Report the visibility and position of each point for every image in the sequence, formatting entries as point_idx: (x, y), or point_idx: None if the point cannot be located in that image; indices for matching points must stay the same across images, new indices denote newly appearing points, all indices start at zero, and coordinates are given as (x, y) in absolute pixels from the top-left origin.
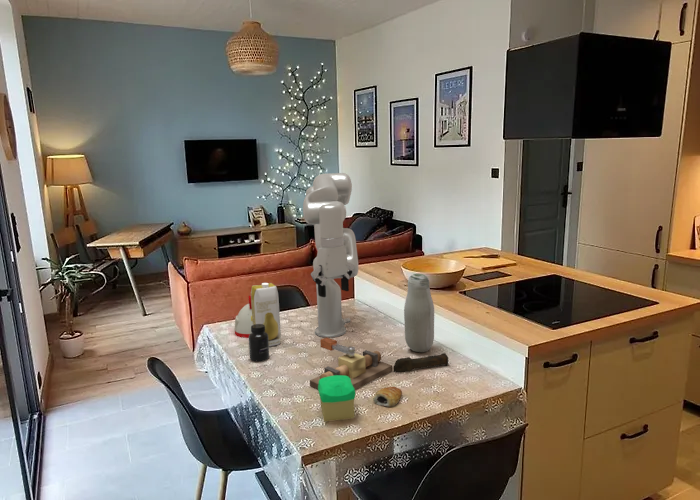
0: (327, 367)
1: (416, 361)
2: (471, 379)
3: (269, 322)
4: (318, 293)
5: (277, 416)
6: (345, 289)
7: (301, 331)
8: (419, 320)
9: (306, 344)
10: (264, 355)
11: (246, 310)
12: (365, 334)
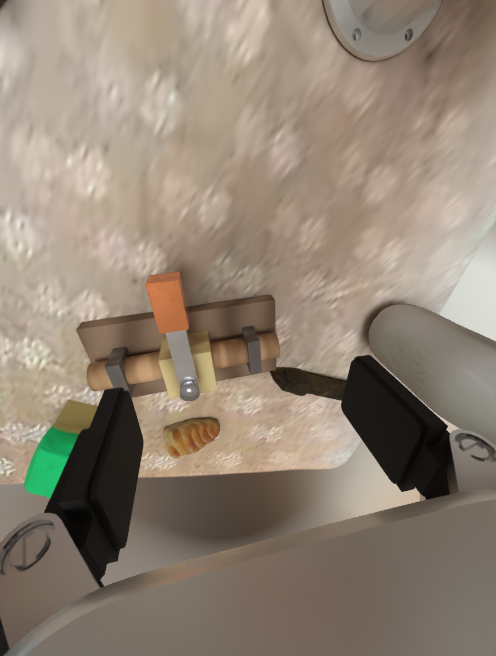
0: (113, 369)
1: (310, 393)
2: (327, 436)
3: None
4: (83, 431)
5: None
6: (348, 404)
7: None
8: (417, 396)
9: (226, 5)
10: None
11: None
12: (420, 131)
